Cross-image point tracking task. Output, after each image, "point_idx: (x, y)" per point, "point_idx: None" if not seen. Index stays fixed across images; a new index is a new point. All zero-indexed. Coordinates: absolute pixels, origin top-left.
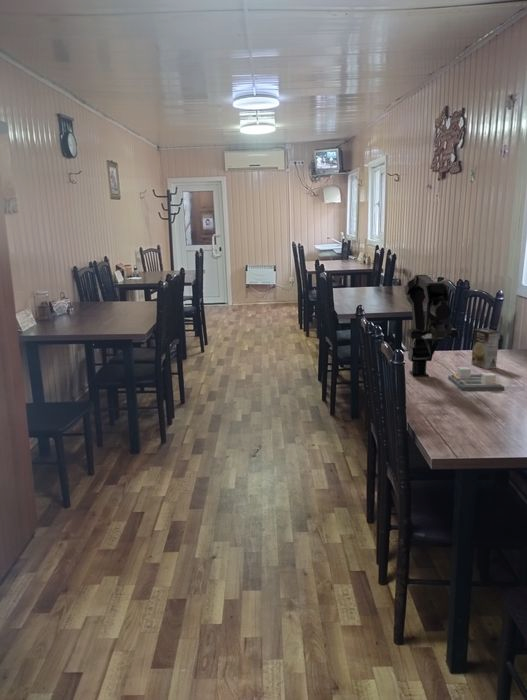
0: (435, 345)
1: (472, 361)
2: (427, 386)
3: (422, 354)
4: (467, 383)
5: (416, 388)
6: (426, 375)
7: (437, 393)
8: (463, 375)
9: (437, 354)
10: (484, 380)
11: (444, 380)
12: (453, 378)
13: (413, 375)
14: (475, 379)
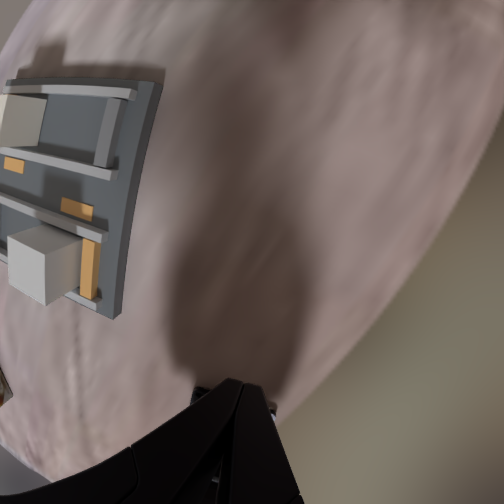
0: (135, 487)
1: (5, 397)
2: (318, 229)
3: (211, 494)
4: (87, 154)
5: (409, 217)
6: (206, 391)
7: (343, 76)
8: (57, 239)
9: None
10: (28, 101)
11: (150, 297)
12: (107, 267)
13: (274, 415)
14: (32, 205)
